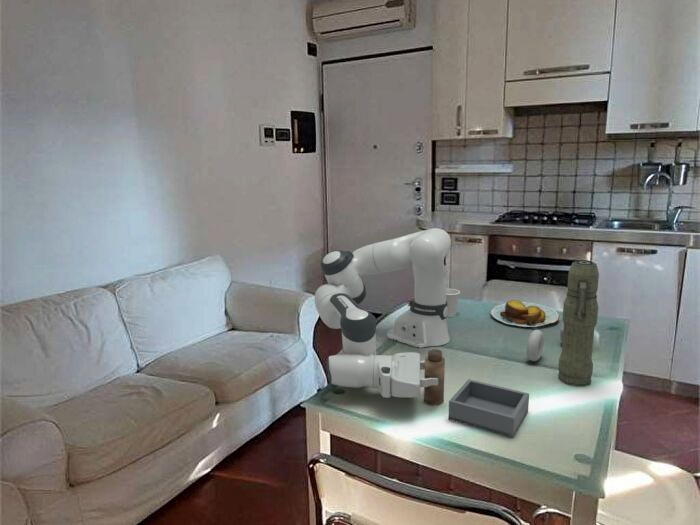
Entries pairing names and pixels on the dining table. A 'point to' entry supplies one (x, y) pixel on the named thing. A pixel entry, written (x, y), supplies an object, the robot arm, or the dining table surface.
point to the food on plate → (524, 313)
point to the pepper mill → (434, 369)
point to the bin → (489, 407)
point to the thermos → (579, 324)
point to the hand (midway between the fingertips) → (437, 374)
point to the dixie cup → (452, 301)
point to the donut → (535, 345)
